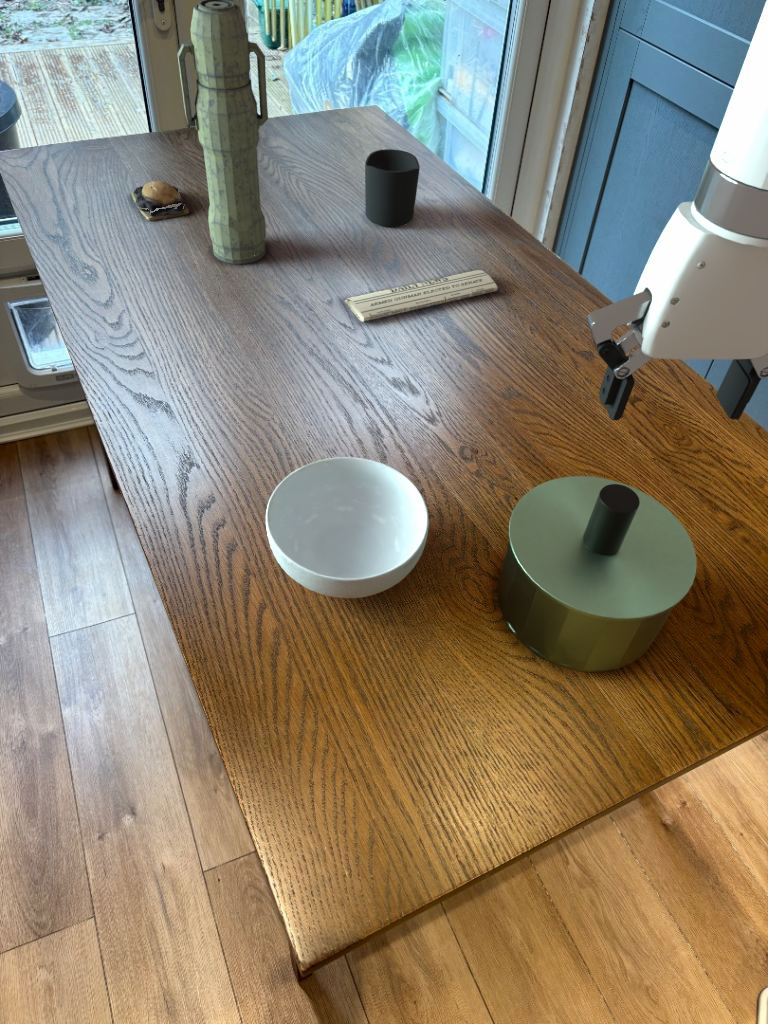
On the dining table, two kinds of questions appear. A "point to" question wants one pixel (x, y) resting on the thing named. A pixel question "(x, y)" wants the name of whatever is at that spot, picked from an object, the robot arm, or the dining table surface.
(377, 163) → the pen holder
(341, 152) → the dining table surface
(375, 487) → the cereal bowl
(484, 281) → the newspaper
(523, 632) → the pot
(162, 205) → the burger on board
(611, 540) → the lid
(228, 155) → the thermos
